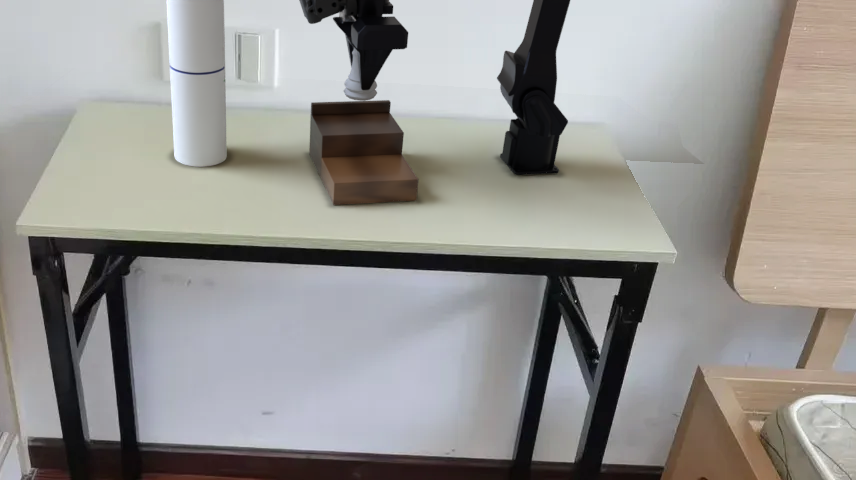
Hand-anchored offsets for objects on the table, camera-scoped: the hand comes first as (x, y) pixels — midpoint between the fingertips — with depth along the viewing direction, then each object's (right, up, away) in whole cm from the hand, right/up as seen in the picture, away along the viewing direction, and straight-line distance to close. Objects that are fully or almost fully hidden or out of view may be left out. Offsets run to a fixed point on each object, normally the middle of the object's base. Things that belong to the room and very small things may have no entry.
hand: (361, 83), depth 126 cm
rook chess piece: (0, -1, +1) cm, 2 cm away
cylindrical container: (-22, -8, +7) cm, 24 cm away
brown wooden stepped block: (0, -11, +4) cm, 12 cm away
